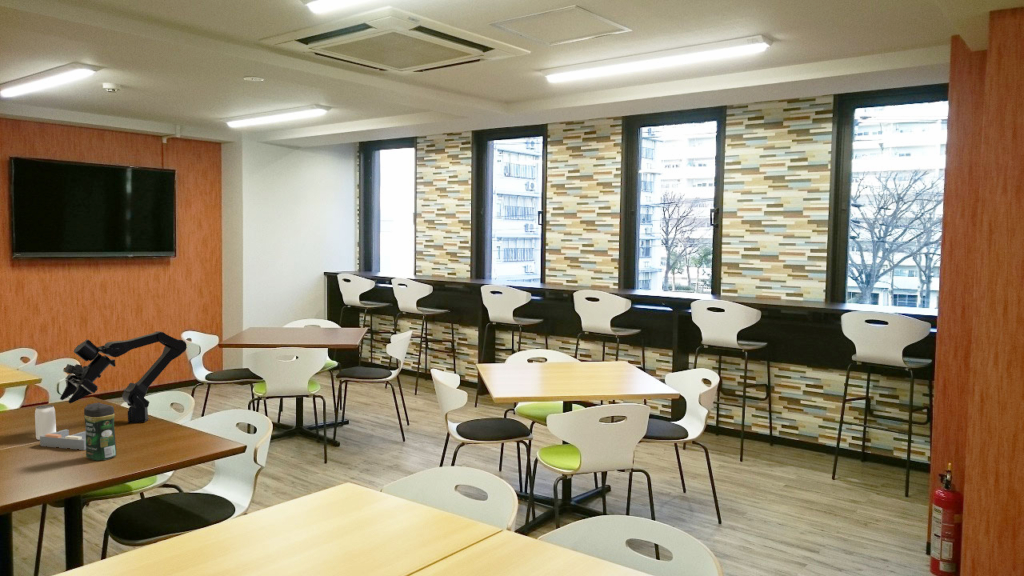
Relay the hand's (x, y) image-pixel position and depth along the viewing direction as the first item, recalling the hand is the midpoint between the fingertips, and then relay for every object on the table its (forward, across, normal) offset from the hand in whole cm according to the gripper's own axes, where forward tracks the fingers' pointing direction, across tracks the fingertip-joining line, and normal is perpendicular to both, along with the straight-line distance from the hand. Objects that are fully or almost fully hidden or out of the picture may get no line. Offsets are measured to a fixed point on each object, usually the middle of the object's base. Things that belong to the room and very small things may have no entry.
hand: (65, 401), depth 283 cm
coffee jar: (+11, +44, +7) cm, 46 cm away
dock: (+11, +18, +7) cm, 23 cm away
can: (+14, 0, +4) cm, 15 cm away
